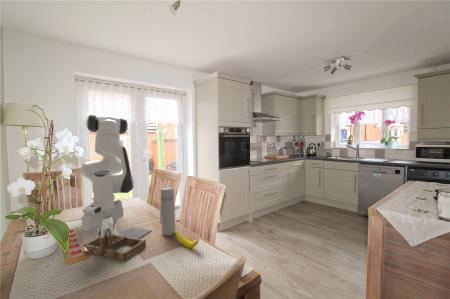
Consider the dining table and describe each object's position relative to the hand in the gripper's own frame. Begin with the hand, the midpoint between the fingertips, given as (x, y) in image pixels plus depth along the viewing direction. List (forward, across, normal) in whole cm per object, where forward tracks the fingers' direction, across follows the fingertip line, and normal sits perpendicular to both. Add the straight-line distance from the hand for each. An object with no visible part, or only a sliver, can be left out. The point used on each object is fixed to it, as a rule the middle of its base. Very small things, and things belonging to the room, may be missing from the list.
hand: (105, 232), depth 103 cm
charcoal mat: (+7, -15, +3) cm, 17 cm away
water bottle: (+7, -22, +20) cm, 31 cm away
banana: (+7, -13, +38) cm, 40 cm away
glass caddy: (+7, 0, +6) cm, 9 cm away
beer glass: (+7, 0, 0) cm, 7 cm away
